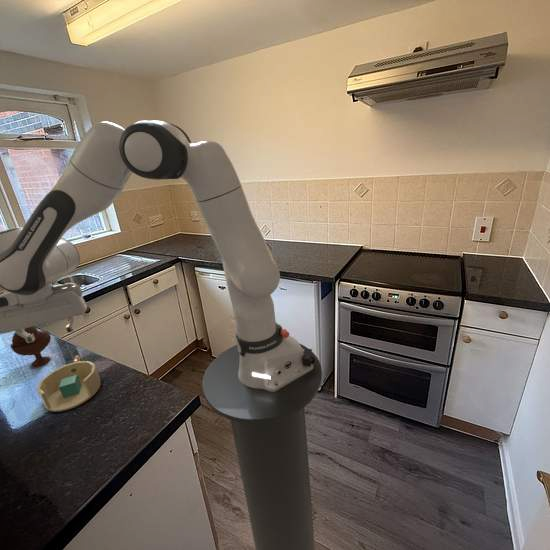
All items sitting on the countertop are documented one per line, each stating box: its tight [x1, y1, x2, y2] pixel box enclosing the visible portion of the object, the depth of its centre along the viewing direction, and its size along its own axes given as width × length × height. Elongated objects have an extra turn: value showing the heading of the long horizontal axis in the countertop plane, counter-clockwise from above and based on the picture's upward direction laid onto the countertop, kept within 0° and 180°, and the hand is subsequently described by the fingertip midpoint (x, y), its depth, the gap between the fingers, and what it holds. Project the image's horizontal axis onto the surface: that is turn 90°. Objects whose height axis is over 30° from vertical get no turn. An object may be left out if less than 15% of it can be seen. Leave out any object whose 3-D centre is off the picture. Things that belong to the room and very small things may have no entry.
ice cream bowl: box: [10, 326, 52, 368], centre depth 102 cm, size 11×11×15 cm
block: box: [59, 375, 81, 398], centre depth 87 cm, size 4×4×4 cm
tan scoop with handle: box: [36, 354, 101, 413], centre depth 90 cm, size 14×21×6 cm, turn 24°
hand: (51, 336), depth 82 cm, fingers open, 8 cm apart
